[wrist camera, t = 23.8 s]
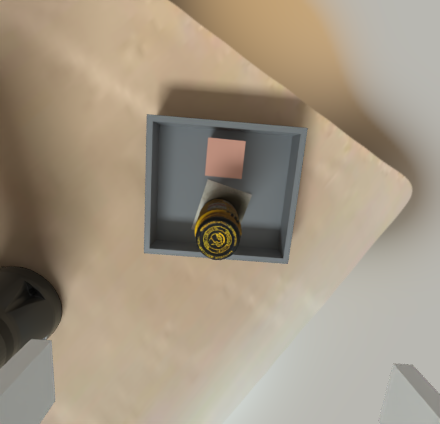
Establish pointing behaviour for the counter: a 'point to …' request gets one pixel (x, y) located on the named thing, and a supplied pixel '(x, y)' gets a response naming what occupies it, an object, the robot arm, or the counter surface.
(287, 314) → the counter surface
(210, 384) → the counter surface
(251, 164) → the tote
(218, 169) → the cube
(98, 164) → the counter surface
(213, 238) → the condiment
